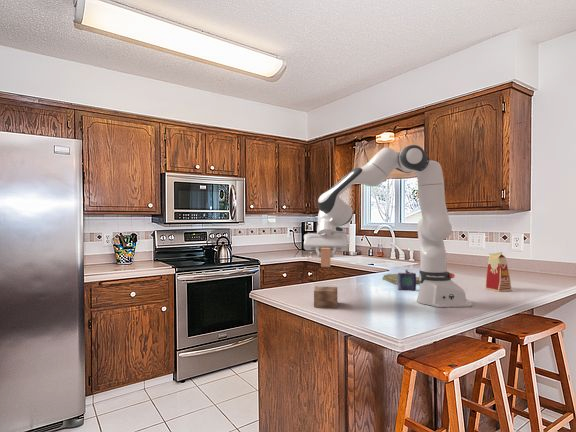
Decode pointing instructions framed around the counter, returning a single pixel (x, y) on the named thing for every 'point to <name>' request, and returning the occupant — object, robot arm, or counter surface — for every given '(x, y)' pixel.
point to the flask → (407, 281)
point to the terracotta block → (325, 257)
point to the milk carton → (498, 273)
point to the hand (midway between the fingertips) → (325, 256)
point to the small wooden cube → (325, 297)
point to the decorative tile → (395, 278)
